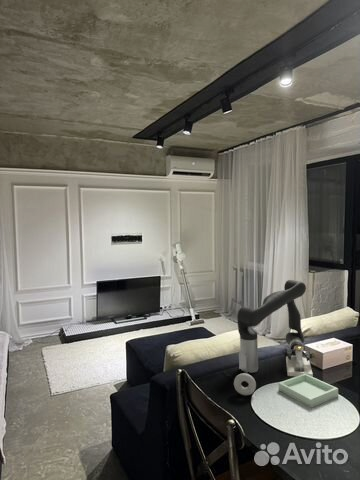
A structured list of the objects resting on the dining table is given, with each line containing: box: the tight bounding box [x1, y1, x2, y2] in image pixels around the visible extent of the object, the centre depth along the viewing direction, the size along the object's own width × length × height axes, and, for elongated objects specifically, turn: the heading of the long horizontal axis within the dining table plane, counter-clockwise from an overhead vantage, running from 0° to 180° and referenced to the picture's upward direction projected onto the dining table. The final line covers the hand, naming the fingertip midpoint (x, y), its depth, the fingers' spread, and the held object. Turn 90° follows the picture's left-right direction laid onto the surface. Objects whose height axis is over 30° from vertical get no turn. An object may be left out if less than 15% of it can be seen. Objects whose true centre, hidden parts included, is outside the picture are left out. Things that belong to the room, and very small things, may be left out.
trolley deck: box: [285, 356, 314, 377], centre depth 176 cm, size 22×12×2 cm, turn 164°
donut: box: [233, 372, 257, 396], centre depth 149 cm, size 10×4×10 cm, turn 77°
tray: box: [278, 374, 339, 409], centre depth 149 cm, size 18×18×4 cm
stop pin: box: [294, 346, 305, 372], centre depth 169 cm, size 5×5×14 cm
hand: (299, 358), depth 170 cm, fingers open, 8 cm apart
